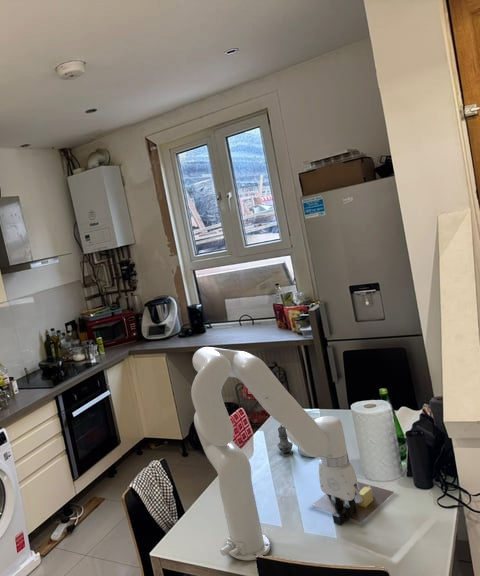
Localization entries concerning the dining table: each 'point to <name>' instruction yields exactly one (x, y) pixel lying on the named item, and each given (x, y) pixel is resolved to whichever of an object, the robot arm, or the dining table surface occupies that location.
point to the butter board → (361, 512)
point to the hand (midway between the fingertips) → (345, 515)
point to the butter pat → (366, 496)
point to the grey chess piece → (284, 443)
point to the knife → (342, 514)
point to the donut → (303, 453)
